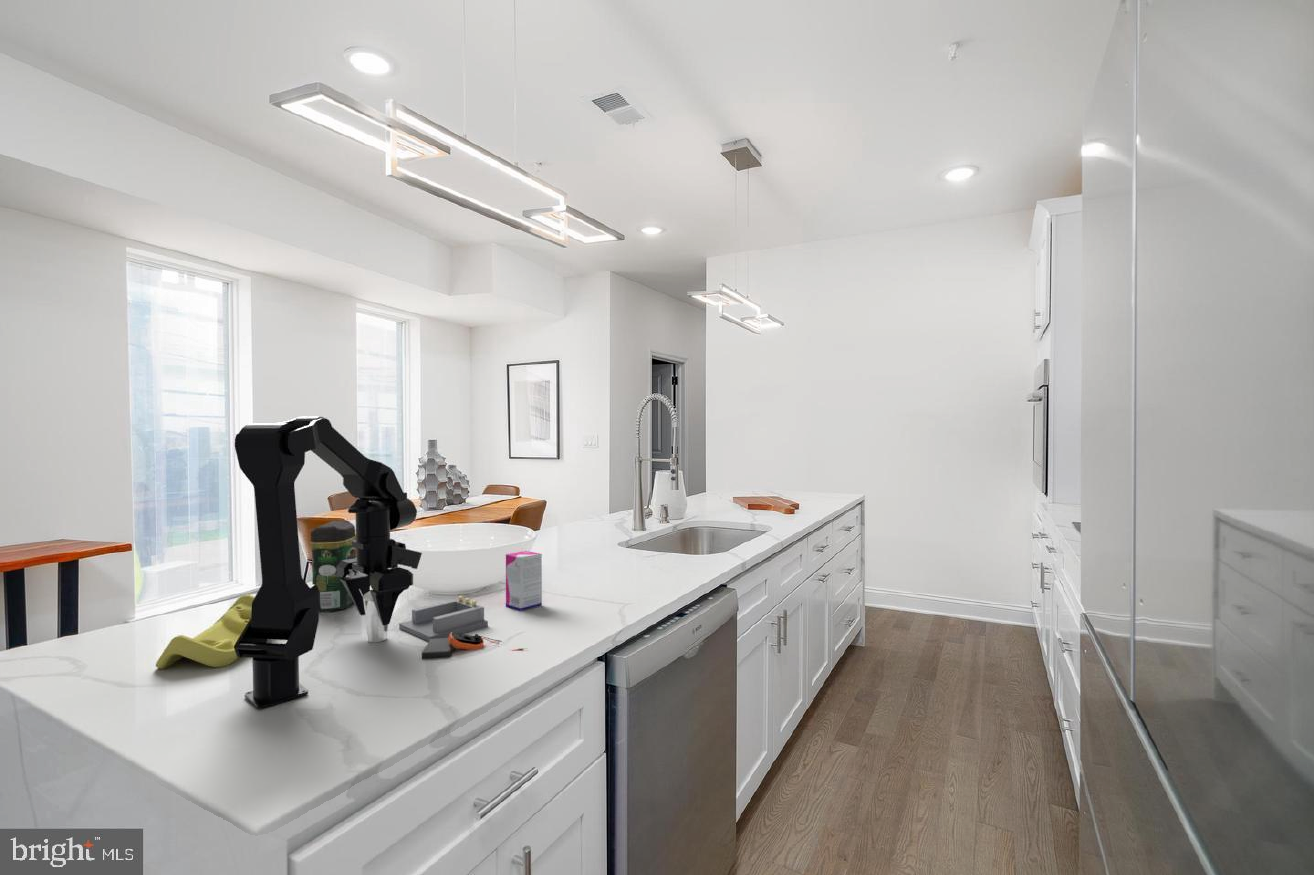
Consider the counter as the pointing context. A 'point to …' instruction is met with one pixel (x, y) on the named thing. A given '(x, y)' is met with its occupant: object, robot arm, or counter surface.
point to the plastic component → (212, 639)
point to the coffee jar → (331, 562)
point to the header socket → (445, 619)
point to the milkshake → (373, 620)
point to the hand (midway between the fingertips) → (374, 619)
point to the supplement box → (523, 580)
